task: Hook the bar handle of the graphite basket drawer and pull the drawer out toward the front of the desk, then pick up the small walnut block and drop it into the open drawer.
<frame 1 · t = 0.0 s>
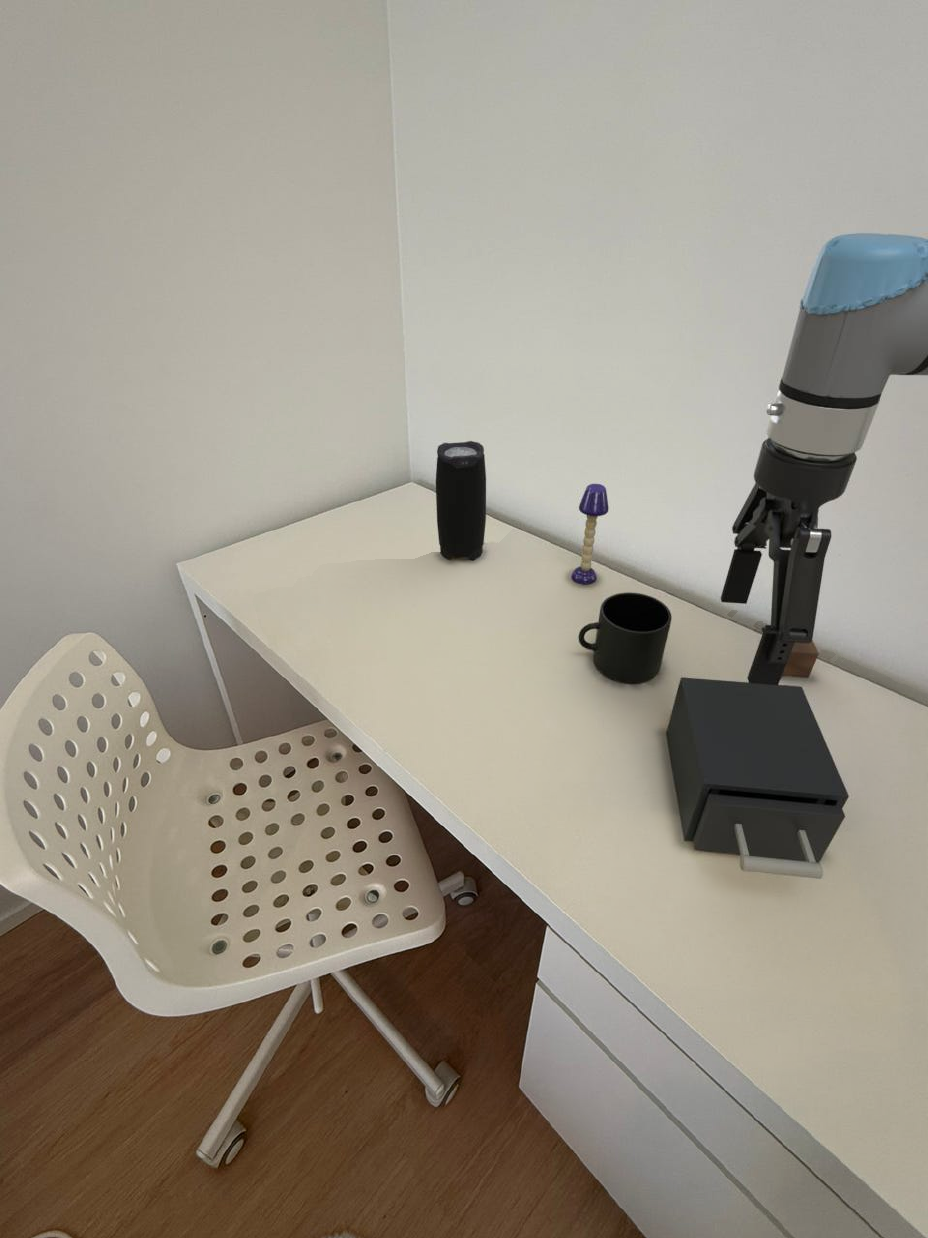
hand: (746, 638, 68), 18 cm above the table, tool pointing down, fingers open, 13 cm apart
block: (788, 666, 92), on the table
portable speaker: (461, 552, 118), on the table
cabinet: (734, 788, 75), on the table
mug: (616, 663, 93), on the table
drawer: (755, 795, 68), point 5 cm above the table, slide at 0.5 cm
toy lamp: (584, 578, 111), on the table
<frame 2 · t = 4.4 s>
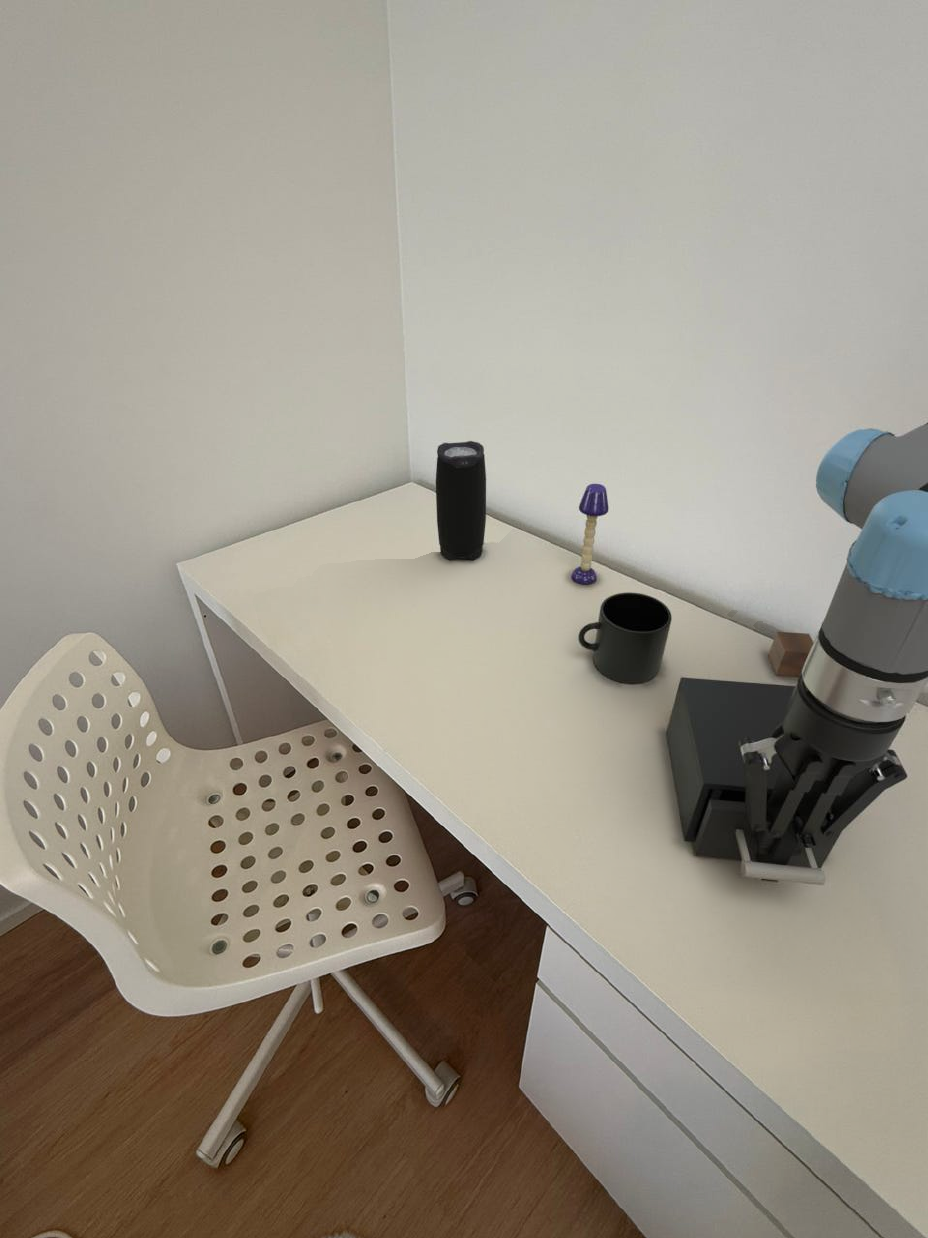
hand: (766, 868, 63), 3 cm above the table, tool pointing down, fingers closed
drawer: (756, 800, 68), point 5 cm above the table, slide at 1.1 cm
everything else where it was.
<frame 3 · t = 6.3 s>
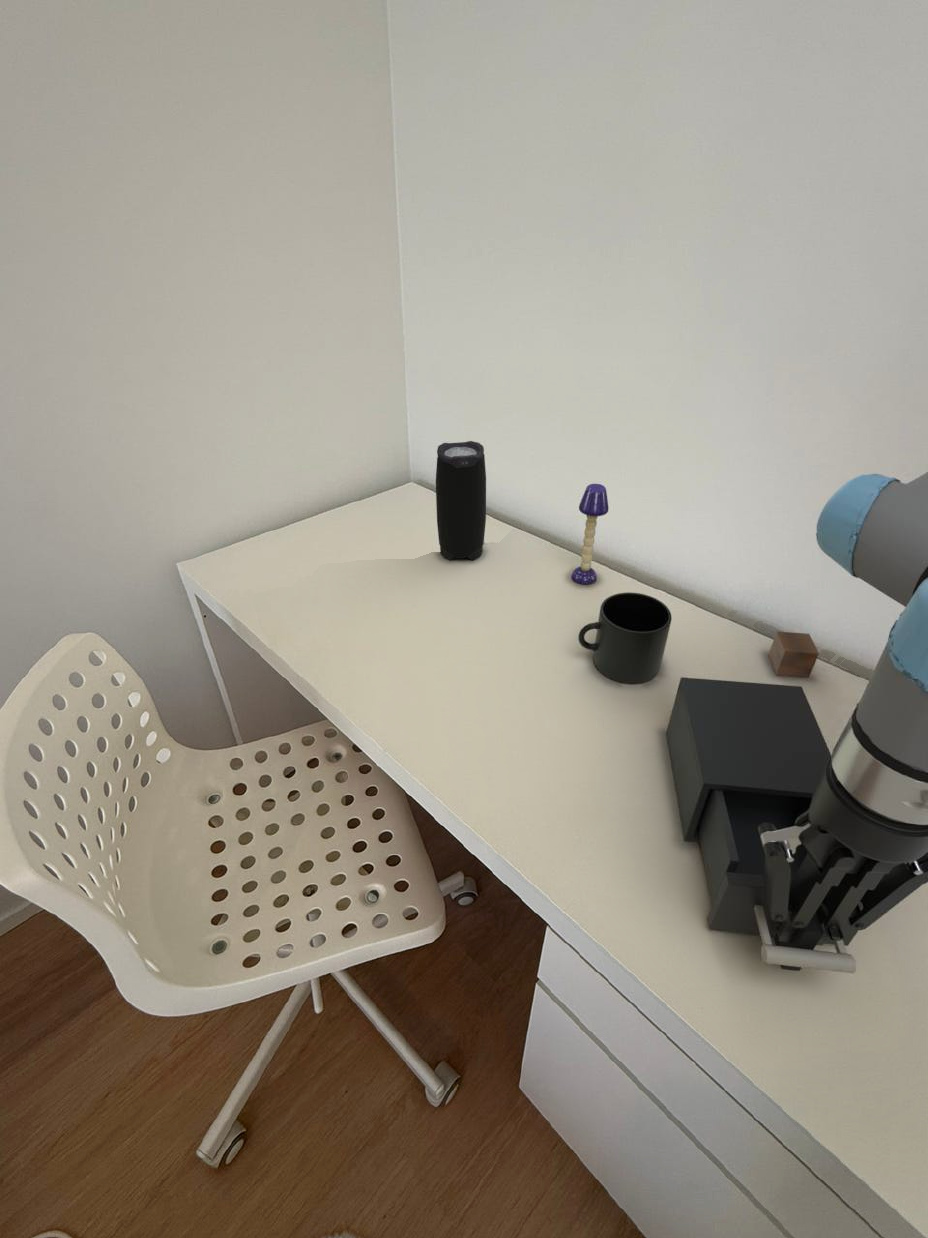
hand: (786, 954, 58), 2 cm above the table, tool pointing down, fingers closed
drawer: (776, 867, 61), point 5 cm above the table, slide at 9.0 cm, touching gripper
everything else where it was.
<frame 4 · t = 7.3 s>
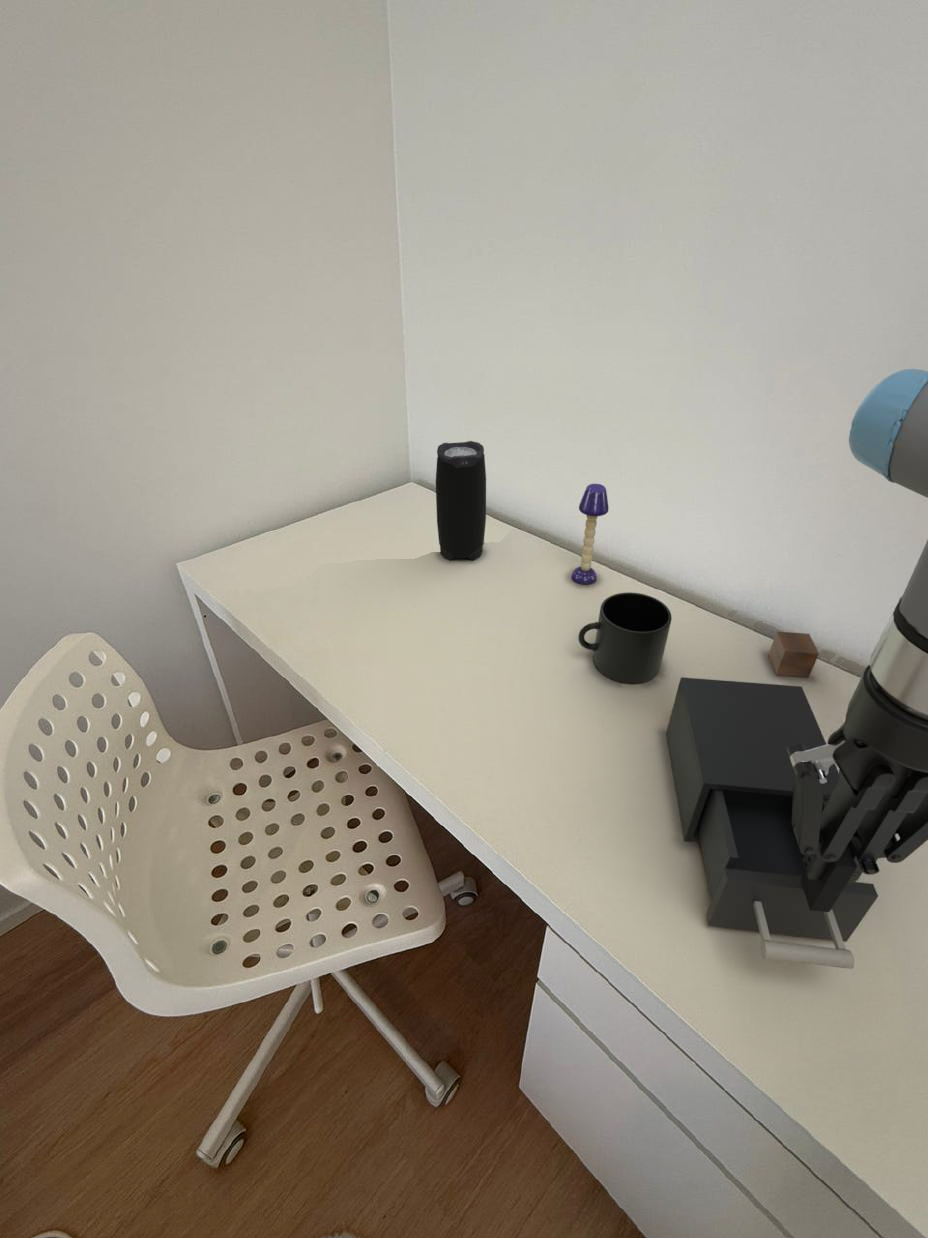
hand: (814, 895, 54), 10 cm above the table, tool pointing down, fingers closed
drawer: (775, 864, 62), point 5 cm above the table, slide at 8.6 cm
everything else where it was.
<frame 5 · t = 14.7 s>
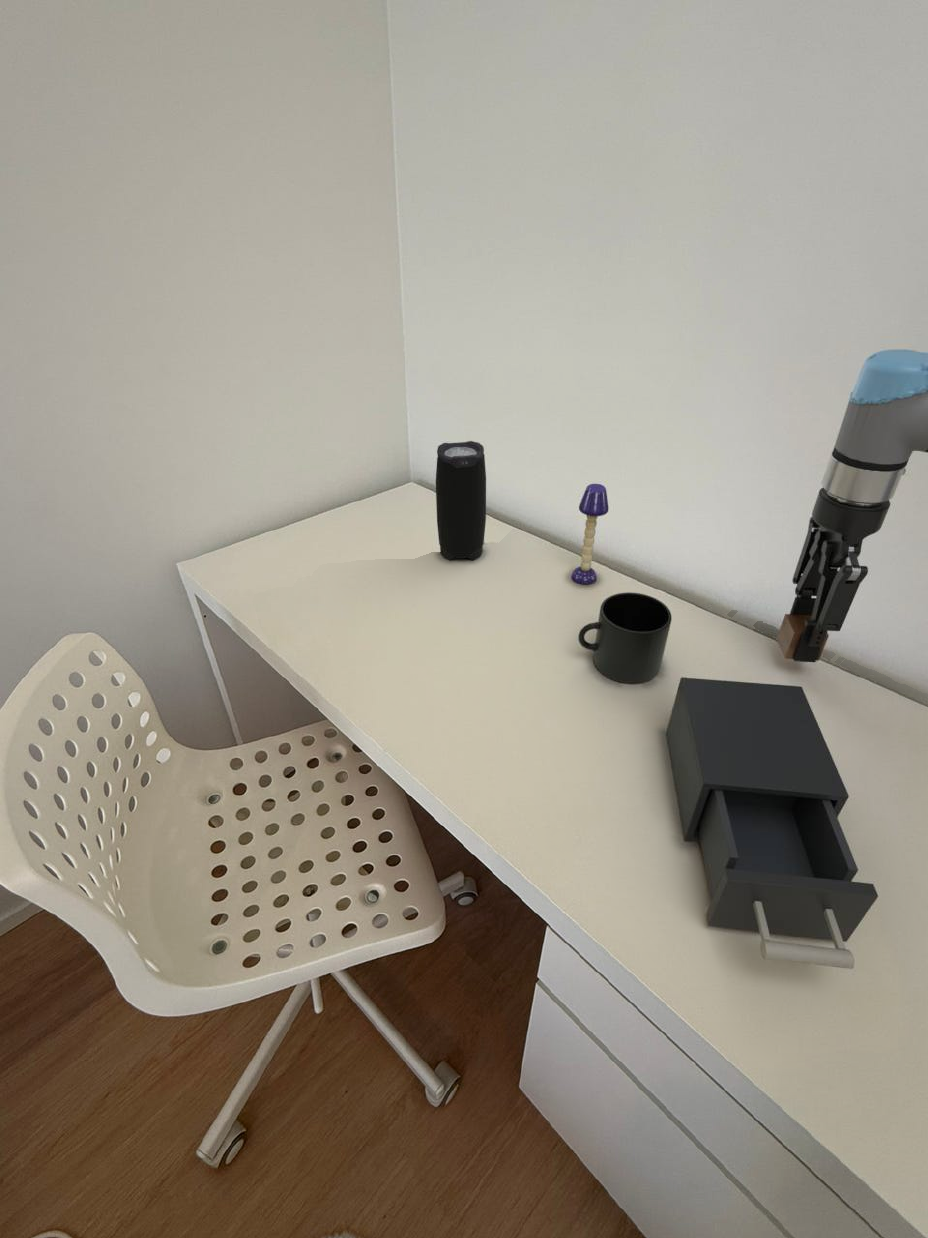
hand: (798, 647, 89), 4 cm above the table, tool pointing down, fingers closed on block, 4 cm apart
block: (797, 649, 90), point 3 cm above the table, touching gripper
everything else where it was.
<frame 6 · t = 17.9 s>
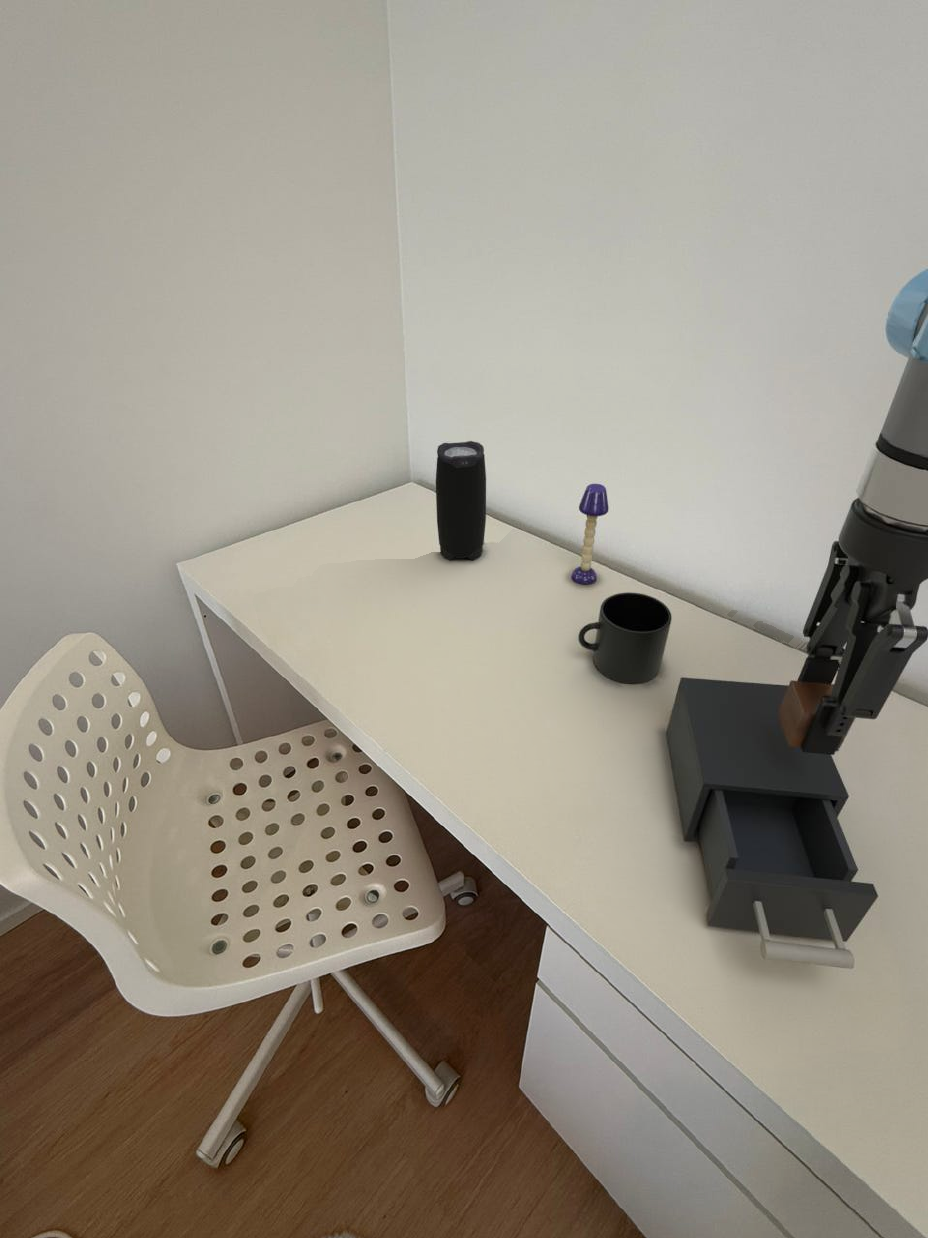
hand: (809, 729, 62), 15 cm above the table, tool pointing down, fingers closed on block, 4 cm apart
block: (806, 731, 62), point 15 cm above the table, touching gripper
everything else where it was.
when the fingers open (7 cm above the table, at t = 20.9 s): block drops 4 cm, resting on drawer.
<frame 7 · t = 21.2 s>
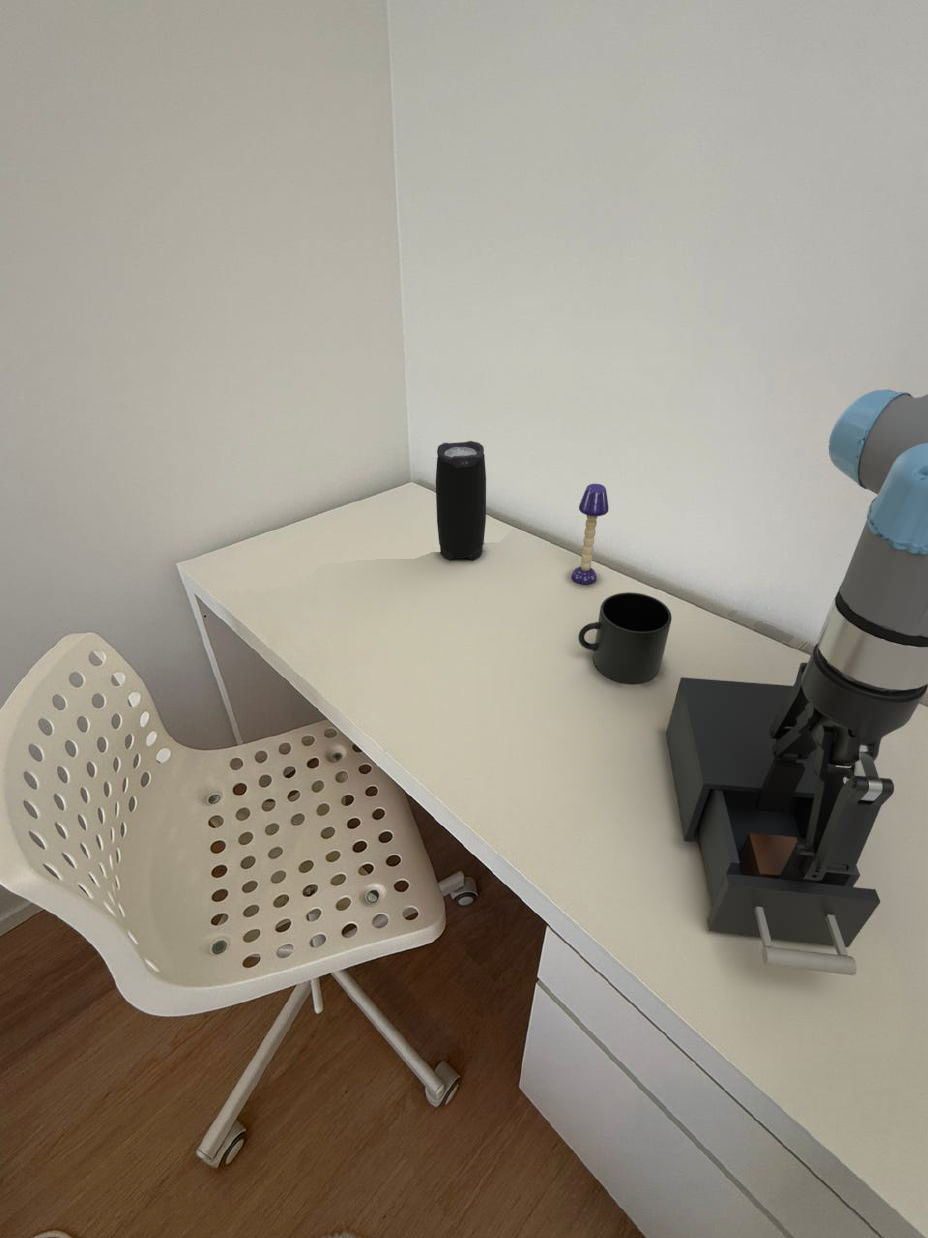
hand: (781, 845, 61), 7 cm above the table, tool pointing down, fingers open, 8 cm apart
block: (765, 880, 63), point 2 cm above the table, touching drawer
drawer: (776, 869, 61), point 5 cm above the table, slide at 9.1 cm, touching block, gripper
everything else where it was.
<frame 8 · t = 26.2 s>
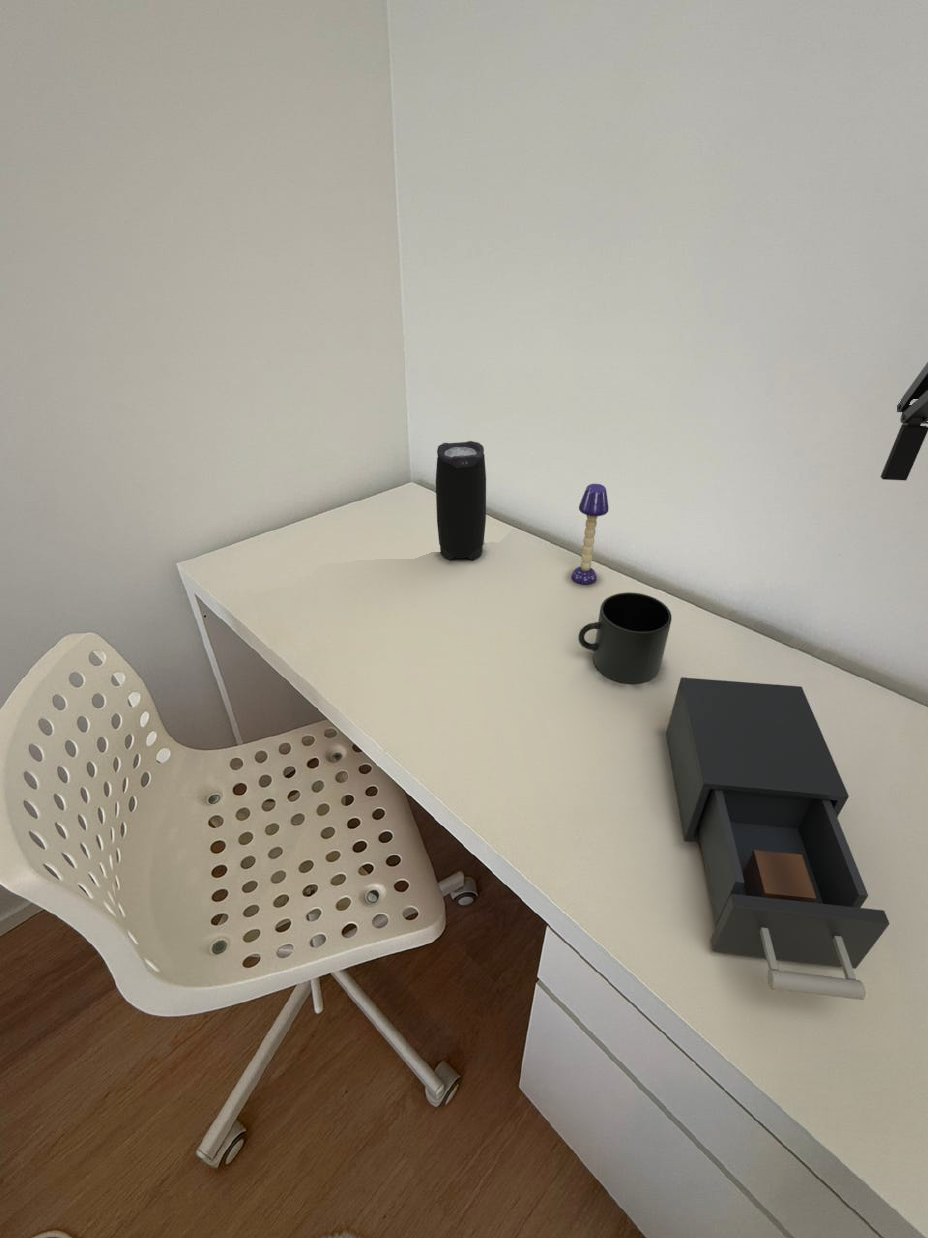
hand: (917, 504, 73), 27 cm above the table, tool pointing down, fingers open, 13 cm apart
block: (770, 899, 62), point 2 cm above the table, touching drawer
drawer: (781, 887, 60), point 5 cm above the table, slide at 11.0 cm, touching block
everything else where it was.
at the end: drawer slide at 11.0 cm; block inside the target area in the drawer (2.8 cm from its centre), point 2.0 cm above the cabinet's base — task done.
